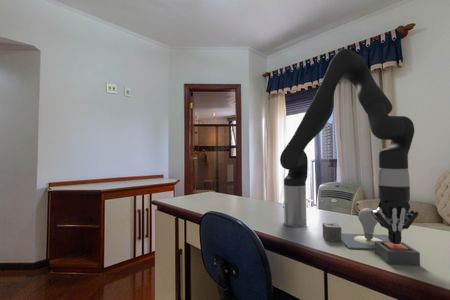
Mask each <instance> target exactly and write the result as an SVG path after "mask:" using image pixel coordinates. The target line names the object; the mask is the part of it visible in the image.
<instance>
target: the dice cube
mask: <svg viewBox="0 0 450 300" xmlns="http://www.w3.org/2000/svg"><path fill="white" fill-rule="evenodd" d="M341 233H342V227H341V226H340V225H339V224H338V223H337V222H336V223H335V222H333V223H332V222H322V237H323V238H324V239H325V241H327V242H342V241H341Z"/></svg>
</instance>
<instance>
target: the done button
mask: <svg viewBox="0 0 450 300" xmlns="http://www.w3.org/2000/svg"><path fill="white" fill-rule="evenodd" d="M384 246H385V247H386V248H388V249H389V250H400V251H408V248H407V247H405V246H404V245H402V244H393V243H389V242H384Z"/></svg>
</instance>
